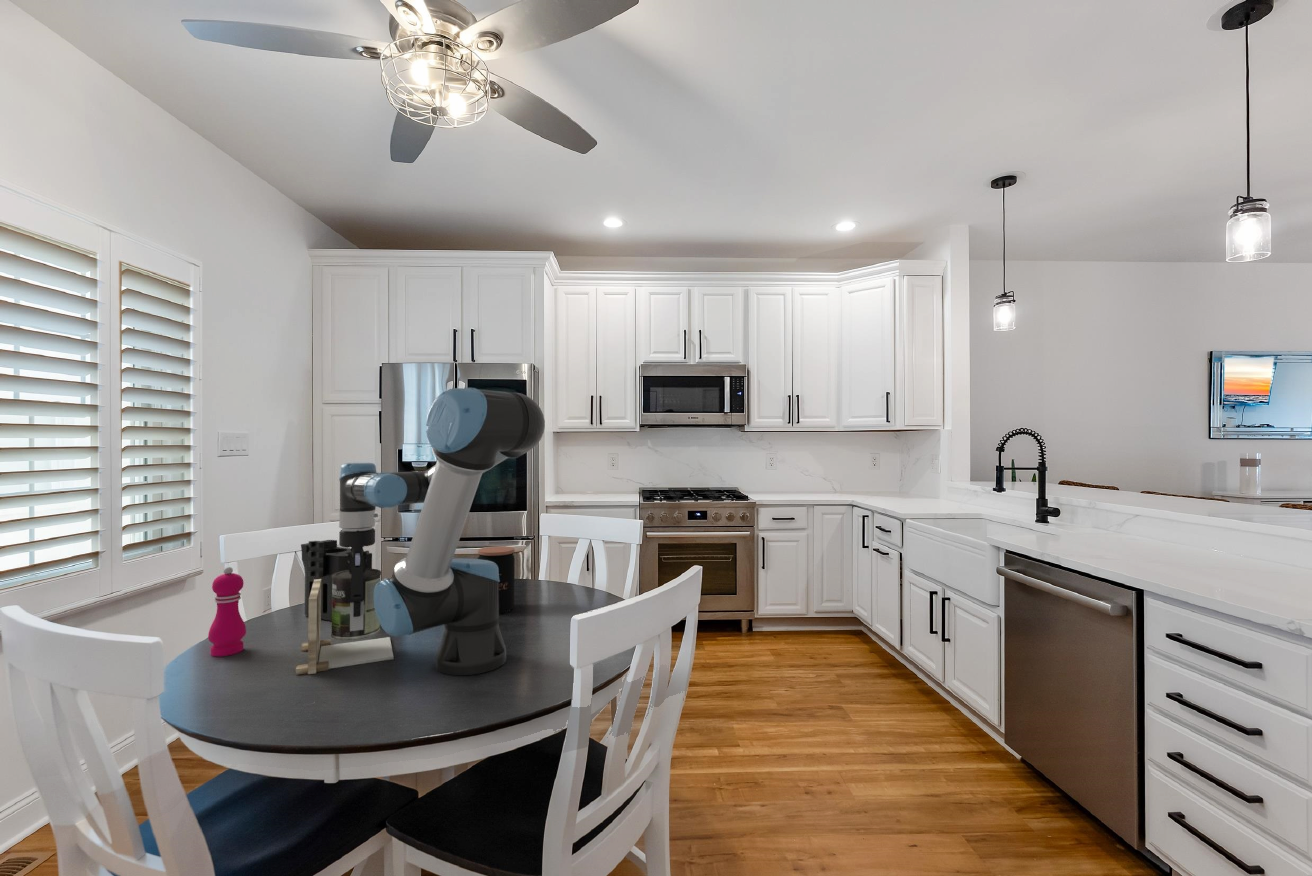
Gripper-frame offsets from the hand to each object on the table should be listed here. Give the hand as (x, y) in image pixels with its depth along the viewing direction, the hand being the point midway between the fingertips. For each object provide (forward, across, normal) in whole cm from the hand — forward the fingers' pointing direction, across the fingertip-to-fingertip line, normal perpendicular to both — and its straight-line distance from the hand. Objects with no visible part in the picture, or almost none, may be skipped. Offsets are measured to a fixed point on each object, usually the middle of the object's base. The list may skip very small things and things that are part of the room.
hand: (356, 623), depth 137 cm
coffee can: (+2, 0, 0) cm, 2 cm away
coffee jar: (+7, +22, -37) cm, 44 cm away
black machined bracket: (+8, +35, +5) cm, 36 cm away
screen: (+7, +1, +8) cm, 11 cm away
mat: (+7, 0, 0) cm, 7 cm away
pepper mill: (+7, +15, +27) cm, 32 cm away
